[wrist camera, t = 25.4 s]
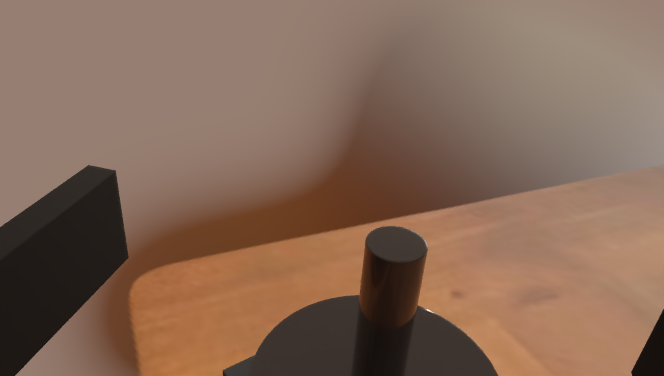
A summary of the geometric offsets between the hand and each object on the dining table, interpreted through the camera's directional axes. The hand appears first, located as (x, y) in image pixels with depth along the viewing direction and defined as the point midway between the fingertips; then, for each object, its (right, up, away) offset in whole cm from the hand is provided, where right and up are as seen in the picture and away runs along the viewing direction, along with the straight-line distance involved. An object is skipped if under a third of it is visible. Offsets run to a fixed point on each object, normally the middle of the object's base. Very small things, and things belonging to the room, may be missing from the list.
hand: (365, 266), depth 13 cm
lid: (+2, -9, +16) cm, 18 cm away
